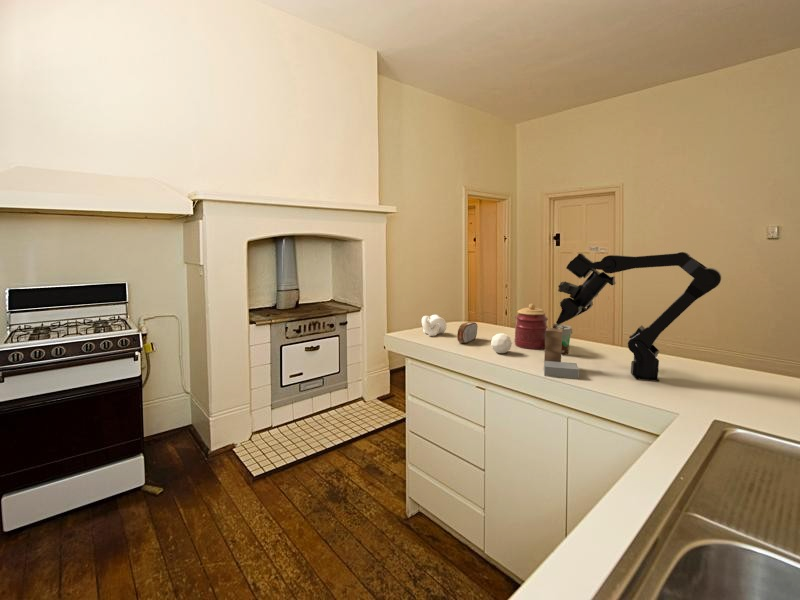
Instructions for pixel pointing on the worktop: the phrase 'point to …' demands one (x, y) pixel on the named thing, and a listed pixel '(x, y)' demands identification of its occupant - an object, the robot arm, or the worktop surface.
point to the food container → (564, 336)
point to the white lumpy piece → (433, 325)
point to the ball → (501, 343)
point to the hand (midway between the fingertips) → (561, 321)
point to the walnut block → (553, 344)
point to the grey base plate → (561, 369)
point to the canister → (530, 328)
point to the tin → (467, 332)
